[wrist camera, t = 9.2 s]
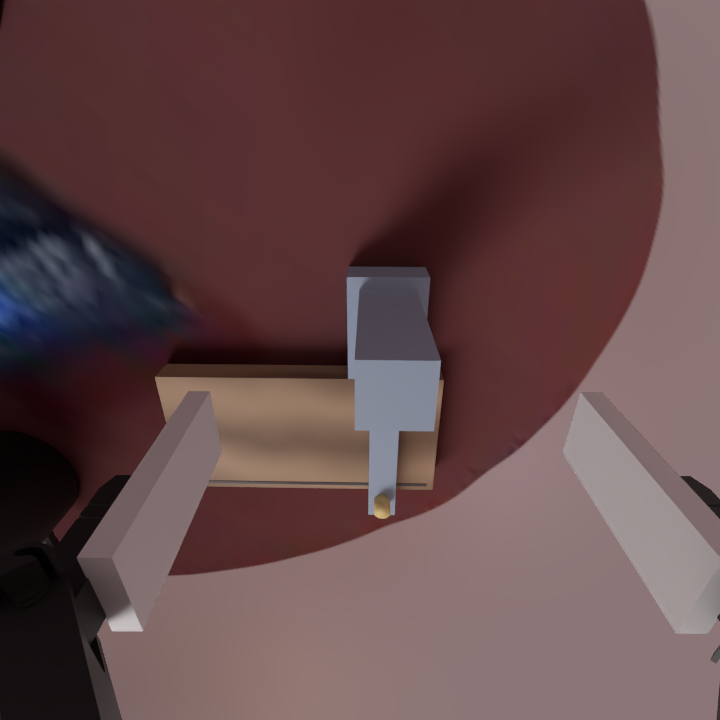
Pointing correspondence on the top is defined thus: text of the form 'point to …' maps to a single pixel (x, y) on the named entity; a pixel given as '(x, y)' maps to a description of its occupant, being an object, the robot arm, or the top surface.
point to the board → (293, 426)
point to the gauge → (390, 367)
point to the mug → (32, 491)
